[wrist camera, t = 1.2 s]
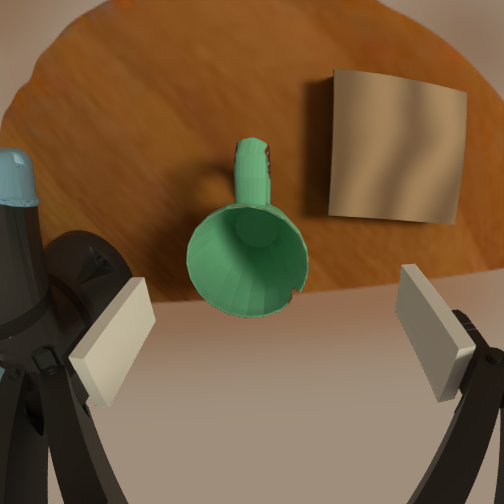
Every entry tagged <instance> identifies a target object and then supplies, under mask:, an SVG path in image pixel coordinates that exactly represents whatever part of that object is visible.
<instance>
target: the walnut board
mask: <svg viewBox="0 0 504 504" xmlns="http://www.w3.org/2000/svg"><path fill="white" fill-rule="evenodd" d="M466 116H467V93H465V92H462V91H458V90H454V89H451V88H447V87H443V86H438V85H434V84H430V83H425V82H421V81H416V80H411V79H406V78H400V77H395V76H389V75H383V74H376V73H369V72H362V71H353V70H344V69H333V116H332V146H331V167H330V185H329V200H328V205H329V206H328V215H331V216H348V217H364V218H378V219H392V220H405V221H417V222H429V223H440V224H451V225H454V224H455V218H456V213H457V207H458V200H459V194H460V186H461V179H462V170H463V161H464V150H465V136H466Z"/></svg>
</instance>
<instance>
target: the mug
mask: <svg viewBox="0 0 504 504" xmlns="http://www.w3.org/2000/svg"><path fill="white" fill-rule="evenodd" d="M234 179H235V204H229V205H227V206H224V207H222V208H220V209H218V210H216V211H214V212H212V213H210V214H209V215H208V216H207V217H206V218H205V219H204V220H203V221H202V222H201V223H200V224H199V225H198V226H197V227H196V229H195V230H194V232H193V235H192V237H191V239H190V241H189V243H188V246H187V256H186V265H187V269H188V273H189V277H190V280H191V282H192V283H193V285H194V287H195V288H196V290H197V291H198V293H199V294H200V295H201V296H202V297H203V298H204V299H205V300H206V301H207V302H208V303H210V304H211V305H212V306H213V307H215V308H217V309H220V310H221V311H223V312H225V313H227V314H231V315H235V316H239V317H244V318H251V317H264V316H267V315H270V314H273V313H276V312H279V311H281V310H282V309H283V308H285V307H286V306H287V305H288V304H289V303H290V301H291V299H292V294H293V291H294V289H296V290H297V291H298V292H301V290H302V289H303V288H304V285H305V282H306V278H307V275H308V271H309V264H308V252H307V247H306V245H305V243H304V240H303V238H302V236H301V234H300V231H299V229H298V228H297V227H296V226H295V225H294V224H293V223H292V222H291V221H290V220H289V219H288V218H287V217H286V216H285V214H284V213H283V212H282V211H281V210H280V209H278V208H276V207H274V206H272V205H271V204H270V152H269V145H268V144H266V143H264V142H263V141H261V140H259V139H257V138H247V139H242V140H241V141H239V142H238V143H237V145H236V151H235V156H234Z"/></svg>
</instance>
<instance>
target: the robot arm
mask: <svg viewBox="0 0 504 504" xmlns="http://www.w3.org/2000/svg"><path fill="white" fill-rule="evenodd" d="M37 205H39V198H38V196H37V195H36V187H35V179H34V170H33V164H32V161H31V159H30V157H29V155H28V154H27V153H25V152H24V151H22V150H20V149H16V148H0V504H48V490H47V489H48V487H47V485H48V484H47V483H48V481H47V476H48V447H49V448H50V453H51V457H52V462H53V466H54V470H55V473H56V477H57V481H58V484H59V488H60V491H61V495H62V498H63V501H64V504H128V502H127V500H126V498H125V496H124V494H123V492H122V490H121V488H120V486H119V483H118V481H117V479H116V477H115V475H114V473H113V470H112V468H111V466H110V464H109V461H108V459H107V456H106V454H105V451H104V449H103V447H102V444H101V441H100V439H99V436H98V433H97V430H96V428H95V426H94V422H93V419H92V417H91V414H90V411H89V407H88V406H87V404H86V400H87V399H88V397H90V399H91V400H92V402H93V404H94V405H95V406H101V407H105V408H109V407H110V405H111V403H112V401H113V399H114V397H115V395H116V393H117V392H118V390H119V388H120V386H121V384H122V382H123V380H124V378H125V376H126V374H127V372H128V371H129V369H130V367H131V365H132V363H133V361H134V359H135V358H136V356H137V354H138V352H139V350H140V348H141V347H142V345H143V343H144V341H145V339H146V338H147V336H148V334H149V332H150V330H151V328H152V327H153V325H154V323H155V321H156V320H155V316H154V313H153V309H152V305H151V302H150V298H149V294H148V290H147V286H146V283H145V279H144V277H133V276H132V273H131V271H130V269H129V267H128V265H127V264H126V262H125V260H124V259H123V258H122V256H121V255H120V254H119V253H118V251H117V250H116V249H115V248H114V247H113V246H112V245H110V244H109V243H108V242H107V241H105V240H104V239H103V238H101V237H99V236H97V235H95V234H93V233H90V232H86V231H80V230H75V231H69V232H66V233H64V234H62V235H61V236H59V237H58V238H56V239H55V240H53V241H52V242H51V243H50V244H49V245H48V246H47V247H46V249H45V250H44V251H43V245H42V239H41V232H40V224H39V216H38V206H37ZM395 312H396V314H397V316H398V318H399V320H400V322H401V324H402V326H403V328H404V330H405V332H406V334H407V336H408V338H409V340H410V342H411V344H412V346H413V348H414V350H415V352H416V354H417V356H418V359H419V361H420V363H421V365H422V367H423V369H424V372H425V374H426V376H427V378H428V380H429V383H430V385H431V387H432V390H433V392H434V394H435V396H436V399H437V401H438V402H443V401H447V400H451V399H454V398H455V396H456V394H457V391H458V389H460V391H461V393H462V398H461V400H460V402H459V404H458V406H457V408H456V410H455V412H454V413H455V414H454V416H453V418H452V421H451V423H450V425H449V427H448V430H447V432H446V434H445V436H444V438H443V440H442V442H441V444H440V446H439V448H438V450H437V452H436V454H435V456H434V458H433V460H432V462H431V464H430V466H429V467H428V469H427V471H426V473H425V475H424V476H423V478H422V480H421V481H420V483H419V485H418V486H417V488H416V490H415V491H414V493H413V495H412V496H411V498H410V500H409V501H408V503H407V504H465V502H466V500H467V498H468V496H469V493H470V491H471V489H472V487H473V484H474V482H475V479H476V477H477V475H478V472H479V469H480V467H481V464H482V462H483V459H484V456H485V453H486V451H487V448H488V445H489V442H490V439H491V435H492V432H493V429H494V426H495V422H496V419H497V415H498V412H499V408H500V411H501V413H500V414H501V424H500V425H501V427H500V453H499V466H498V476H497V485H496V493H495V500H494V504H504V351H502V350H500V349H498V348H493V347H489V345H488V344H487V343H486V341H485V340H484V338H483V337H482V336H481V334H480V333H479V331H478V330H477V329H476V327H475V326H474V325H473V324H472V322H471V321H470V319H469V318H468V317H467V315H465V314H464V313H462V312H461V311H459V310H450V308H449V307H448V306H447V304H446V303H445V302H444V300H443V299H442V298H441V297H440V295H439V294H438V292H437V291H436V290H435V289H434V287H433V286H432V285H431V284H430V282H429V281H428V280H427V278H426V277H425V276H424V275H423V273H422V272H421V271H420V270H419V268H418V267H417V266H416V265H415V264H409V265H401V273H400V281H399V289H398V296H397V303H396V309H395Z"/></svg>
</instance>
